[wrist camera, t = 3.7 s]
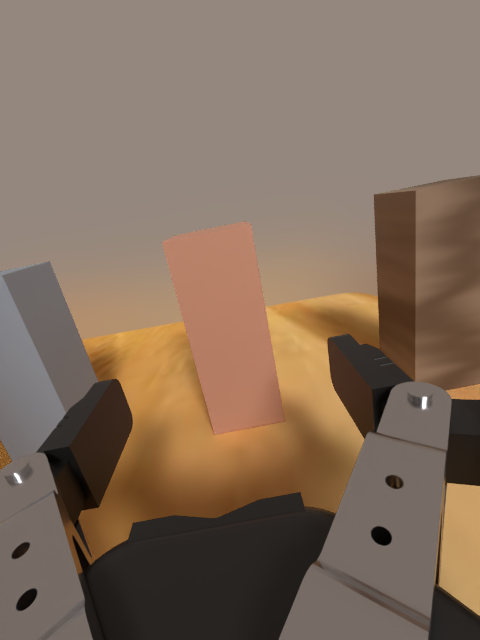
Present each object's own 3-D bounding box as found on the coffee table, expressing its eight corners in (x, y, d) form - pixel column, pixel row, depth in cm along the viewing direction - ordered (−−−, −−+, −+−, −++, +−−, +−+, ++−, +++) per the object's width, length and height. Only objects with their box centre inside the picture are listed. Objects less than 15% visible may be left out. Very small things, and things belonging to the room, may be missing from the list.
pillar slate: (18, 472, 20) (-85, 293, 16) (55, 425, 24) (-19, 275, 20) (87, 459, 20) (2, 275, 16) (111, 414, 24) (49, 261, 20)
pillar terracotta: (214, 434, 19) (162, 242, 15) (216, 394, 24) (175, 235, 20) (284, 421, 19) (250, 224, 15) (274, 383, 24) (245, 221, 19)
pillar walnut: (415, 396, 19) (415, 190, 15) (380, 362, 23) (373, 194, 19) (487, 382, 19) (507, 171, 15) (439, 350, 23) (445, 179, 19)
